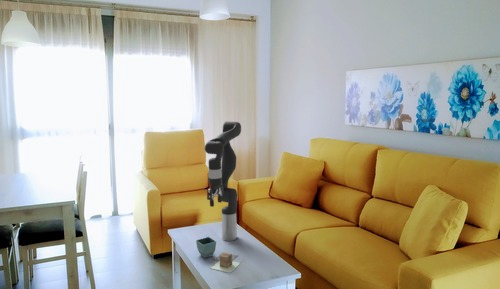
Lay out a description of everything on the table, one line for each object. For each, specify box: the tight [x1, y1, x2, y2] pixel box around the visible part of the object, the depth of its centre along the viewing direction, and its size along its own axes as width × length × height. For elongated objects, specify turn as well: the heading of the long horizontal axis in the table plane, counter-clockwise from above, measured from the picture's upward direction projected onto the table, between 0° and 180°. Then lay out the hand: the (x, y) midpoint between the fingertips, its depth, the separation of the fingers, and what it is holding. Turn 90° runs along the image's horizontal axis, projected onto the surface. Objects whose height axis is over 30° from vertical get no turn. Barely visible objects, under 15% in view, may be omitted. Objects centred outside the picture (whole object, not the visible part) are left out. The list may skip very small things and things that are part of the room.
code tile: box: [213, 252, 238, 262], centre depth 216 cm, size 10×10×1 cm
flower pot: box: [195, 236, 217, 259], centre depth 218 cm, size 9×9×9 cm
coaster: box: [210, 260, 242, 274], centre depth 205 cm, size 12×12×1 cm
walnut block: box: [218, 252, 233, 268], centre depth 205 cm, size 5×5×6 cm
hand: (215, 204), depth 216 cm, fingers open, 8 cm apart
